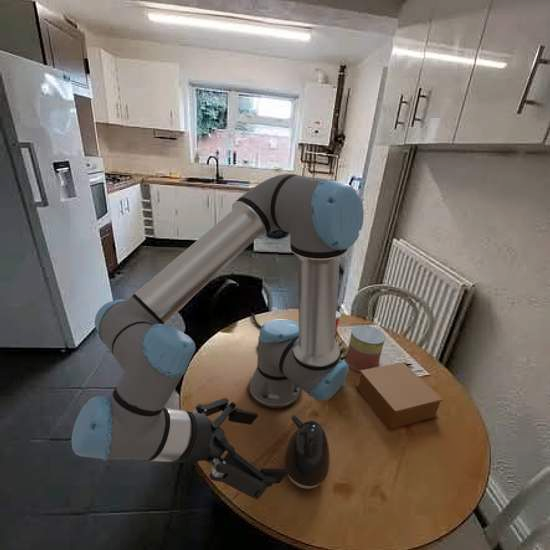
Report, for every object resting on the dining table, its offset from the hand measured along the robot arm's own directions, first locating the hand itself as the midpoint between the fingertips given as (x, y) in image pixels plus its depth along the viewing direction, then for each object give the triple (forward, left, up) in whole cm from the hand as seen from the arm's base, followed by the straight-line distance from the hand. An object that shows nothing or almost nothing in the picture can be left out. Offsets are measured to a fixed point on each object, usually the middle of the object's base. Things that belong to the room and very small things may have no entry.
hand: (267, 445), depth 64 cm
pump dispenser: (+1, +10, -12) cm, 15 cm away
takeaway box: (-12, +46, -12) cm, 49 cm away
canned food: (-31, +47, -12) cm, 57 cm away
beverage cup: (-51, +45, -12) cm, 69 cm away
